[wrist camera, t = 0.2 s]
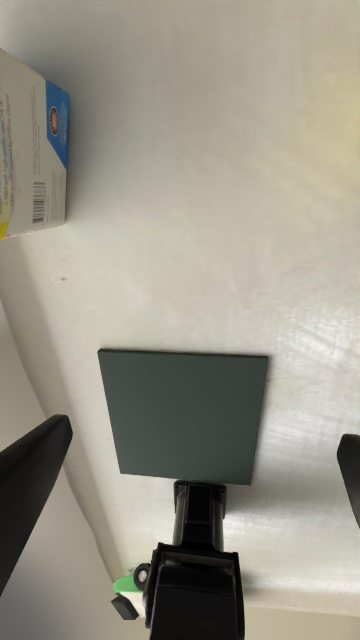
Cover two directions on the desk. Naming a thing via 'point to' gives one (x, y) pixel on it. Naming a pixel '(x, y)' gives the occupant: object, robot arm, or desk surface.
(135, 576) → the toy car
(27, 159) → the ink box
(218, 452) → the mat
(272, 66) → the desk surface
